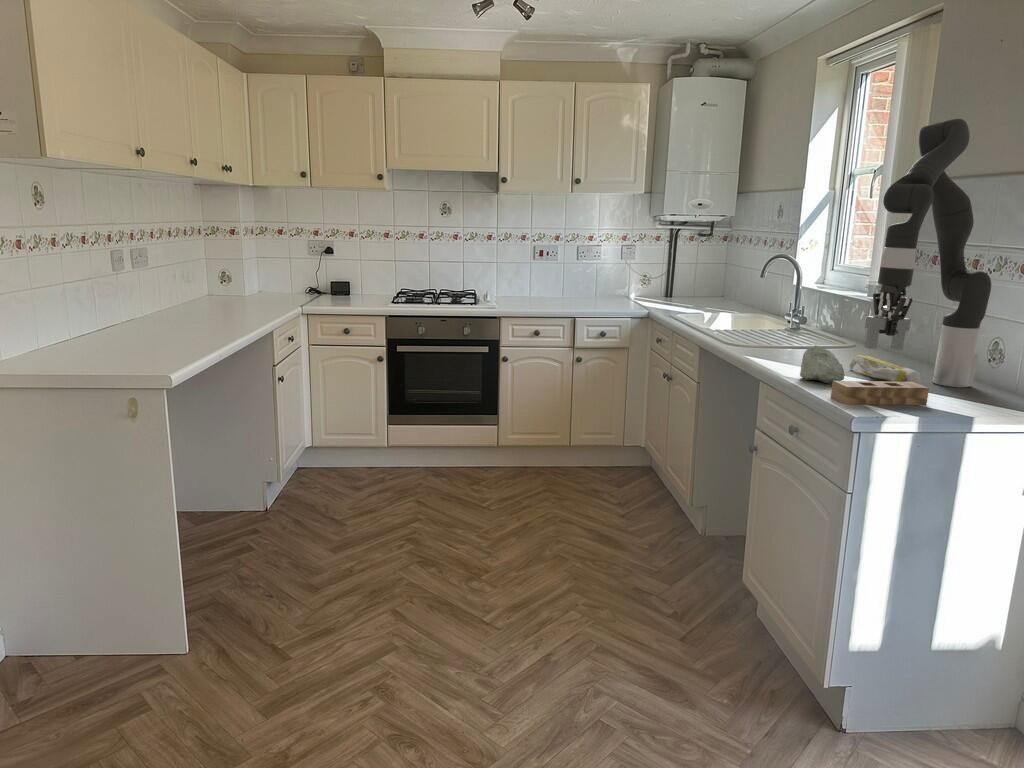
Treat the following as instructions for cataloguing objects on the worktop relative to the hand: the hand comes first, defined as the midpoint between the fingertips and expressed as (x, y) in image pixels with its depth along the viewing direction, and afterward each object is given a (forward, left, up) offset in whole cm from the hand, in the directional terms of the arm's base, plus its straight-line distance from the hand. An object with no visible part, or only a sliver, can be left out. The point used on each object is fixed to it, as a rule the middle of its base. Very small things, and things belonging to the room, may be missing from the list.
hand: (886, 334), depth 183 cm
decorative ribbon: (-18, -25, -18) cm, 36 cm away
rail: (0, 0, -18) cm, 18 cm away
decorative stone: (+4, -23, -18) cm, 29 cm away
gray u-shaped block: (0, 0, -4) cm, 4 cm away
